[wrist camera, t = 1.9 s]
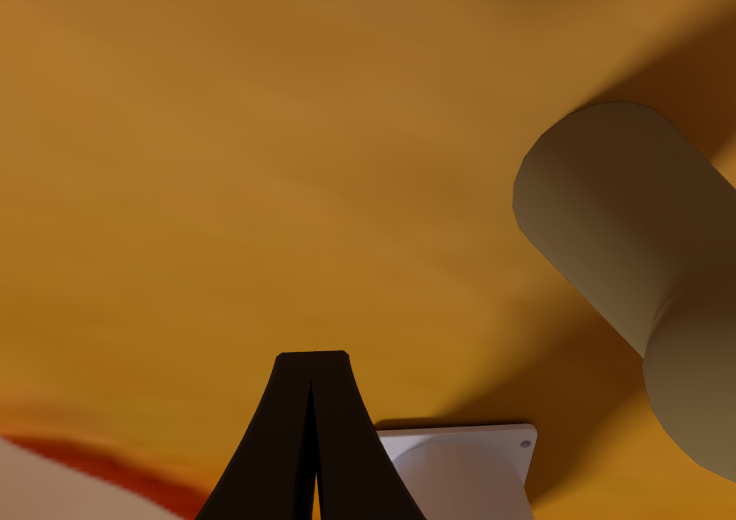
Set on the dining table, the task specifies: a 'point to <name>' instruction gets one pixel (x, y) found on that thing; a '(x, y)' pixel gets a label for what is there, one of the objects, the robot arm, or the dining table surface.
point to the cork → (646, 258)
